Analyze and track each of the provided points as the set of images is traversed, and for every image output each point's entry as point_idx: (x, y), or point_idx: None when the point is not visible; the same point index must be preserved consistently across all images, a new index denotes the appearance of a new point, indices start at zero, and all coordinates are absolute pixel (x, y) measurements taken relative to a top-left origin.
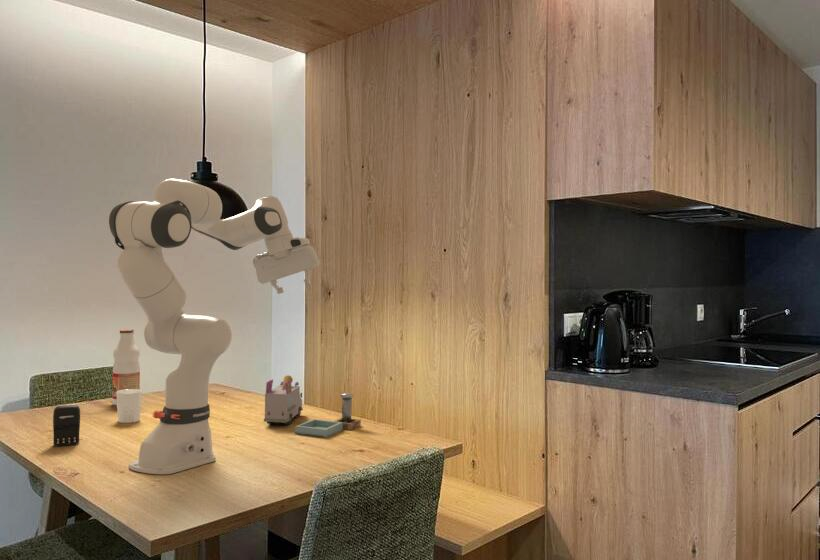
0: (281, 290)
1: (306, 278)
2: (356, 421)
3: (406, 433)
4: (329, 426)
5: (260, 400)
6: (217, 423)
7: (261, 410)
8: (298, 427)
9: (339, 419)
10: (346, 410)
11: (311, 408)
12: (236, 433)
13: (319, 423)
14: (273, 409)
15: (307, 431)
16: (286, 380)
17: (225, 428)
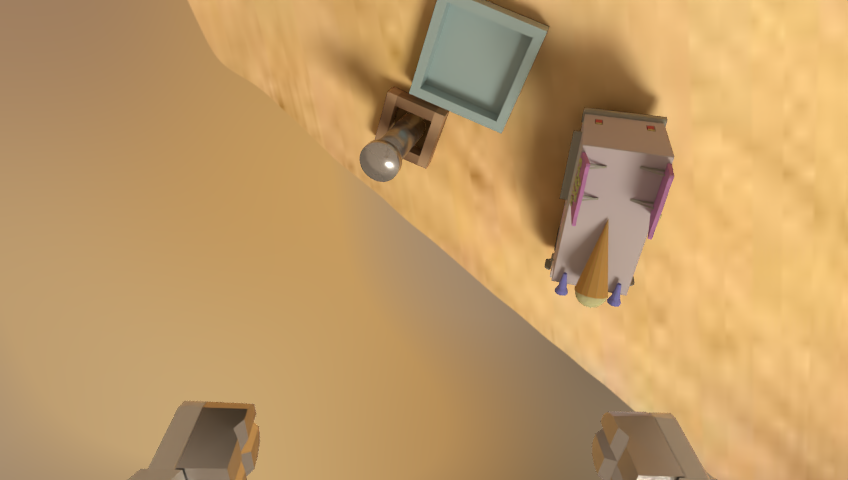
0: (617, 442)
1: (166, 476)
2: (379, 124)
3: (254, 62)
4: (451, 96)
5: (688, 410)
6: (843, 156)
7: (681, 309)
8: (536, 26)
9: (429, 146)
10: (394, 129)
11: (535, 318)
12: (766, 15)
13: (481, 111)
14: (634, 130)
15: (506, 11)
16: (595, 270)
17: (811, 86)
